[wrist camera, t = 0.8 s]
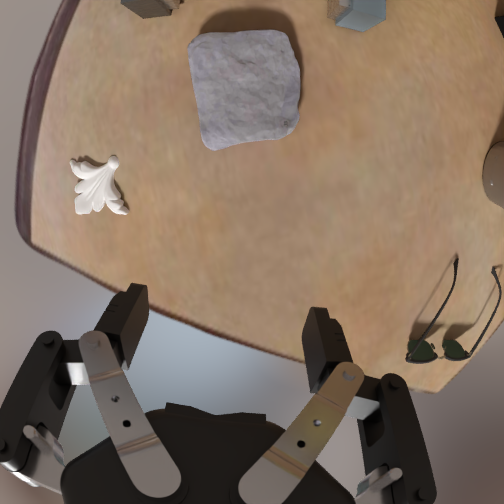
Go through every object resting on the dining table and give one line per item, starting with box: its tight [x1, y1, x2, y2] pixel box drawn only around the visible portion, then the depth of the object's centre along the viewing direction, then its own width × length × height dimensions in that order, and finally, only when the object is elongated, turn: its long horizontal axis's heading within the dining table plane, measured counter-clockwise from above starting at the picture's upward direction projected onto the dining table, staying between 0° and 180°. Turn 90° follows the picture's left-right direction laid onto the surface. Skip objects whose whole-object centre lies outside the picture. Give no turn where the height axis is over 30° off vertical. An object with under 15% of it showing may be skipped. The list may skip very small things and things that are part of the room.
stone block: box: [188, 29, 301, 151], centre depth 24 cm, size 12×5×10 cm
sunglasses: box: [405, 259, 501, 364], centre depth 37 cm, size 16×17×5 cm
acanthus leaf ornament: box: [70, 156, 129, 215], centre depth 29 cm, size 8×7×2 cm
